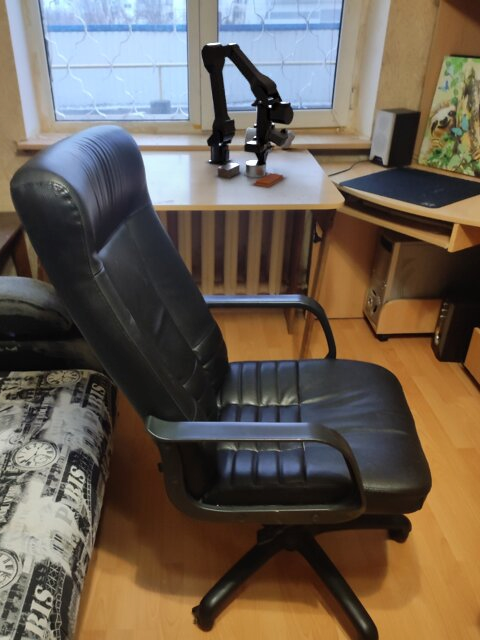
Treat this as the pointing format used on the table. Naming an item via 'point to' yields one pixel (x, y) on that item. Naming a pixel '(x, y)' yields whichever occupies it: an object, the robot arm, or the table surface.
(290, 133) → the frog figurine
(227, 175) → the walnut block
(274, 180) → the terracotta tray
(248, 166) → the silver pot
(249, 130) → the ceramic mug
